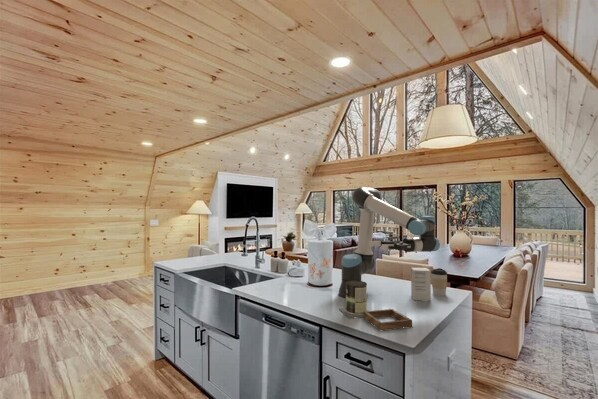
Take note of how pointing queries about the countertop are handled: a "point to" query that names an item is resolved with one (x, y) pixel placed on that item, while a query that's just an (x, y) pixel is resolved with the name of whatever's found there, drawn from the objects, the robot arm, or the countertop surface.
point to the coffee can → (356, 297)
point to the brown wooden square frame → (391, 324)
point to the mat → (350, 314)
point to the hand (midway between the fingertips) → (375, 245)
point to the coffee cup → (439, 282)
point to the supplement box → (421, 284)
